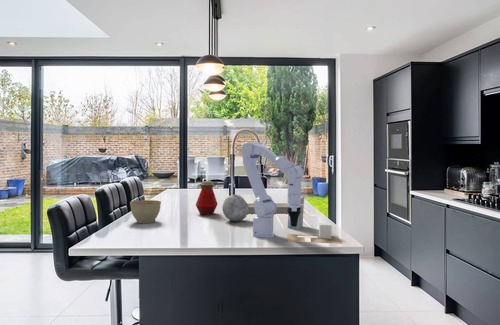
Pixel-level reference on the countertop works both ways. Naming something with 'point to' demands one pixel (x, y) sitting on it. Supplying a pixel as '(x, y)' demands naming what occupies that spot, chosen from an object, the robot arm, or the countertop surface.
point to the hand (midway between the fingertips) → (293, 225)
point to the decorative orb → (235, 208)
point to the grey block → (325, 230)
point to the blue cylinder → (293, 227)
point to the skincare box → (299, 214)
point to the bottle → (206, 199)
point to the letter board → (312, 239)
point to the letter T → (308, 238)
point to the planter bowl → (145, 210)
